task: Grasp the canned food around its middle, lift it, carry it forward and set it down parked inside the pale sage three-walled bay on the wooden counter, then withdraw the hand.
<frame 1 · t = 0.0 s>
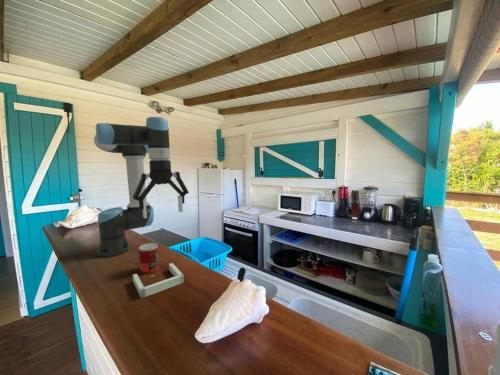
hand: (163, 214, 85), 28 cm above the countertop, fingers open, 13 cm apart
canned food: (150, 269, 99), on the countertop
bay: (158, 281, 89), on the countertop
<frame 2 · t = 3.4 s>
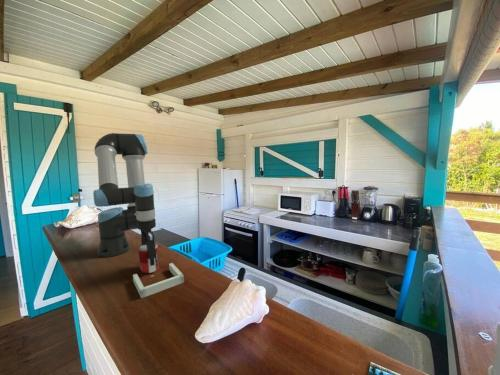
hand: (149, 267, 99), 1 cm above the countertop, fingers closed on canned food, 8 cm apart
canned food: (150, 269, 99), on the countertop, touching gripper
when the fingers open (3 cm above the countertop, at t = 8.8 s): canned food drops 2 cm, on the countertop.
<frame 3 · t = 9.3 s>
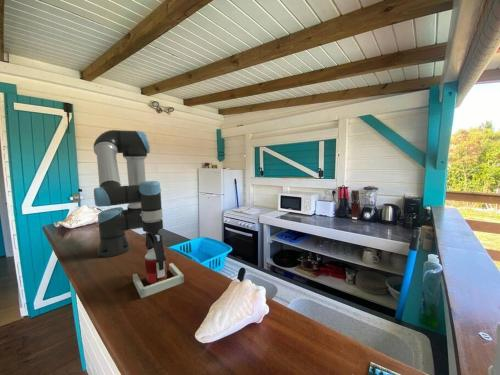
hand: (156, 270, 90), 4 cm above the countertop, fingers open, 13 cm apart
canned food: (157, 280, 90), on the countertop
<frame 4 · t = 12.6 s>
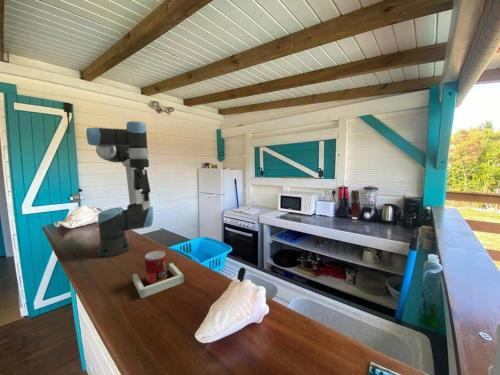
hand: (142, 206, 98), 29 cm above the countertop, fingers open, 13 cm apart
nothing on the countertop moved.
at the end: canned food inside the target area on the bay (1.5 cm from its centre), point 0.0 cm above the bay's base; canned food tilted 0° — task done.
